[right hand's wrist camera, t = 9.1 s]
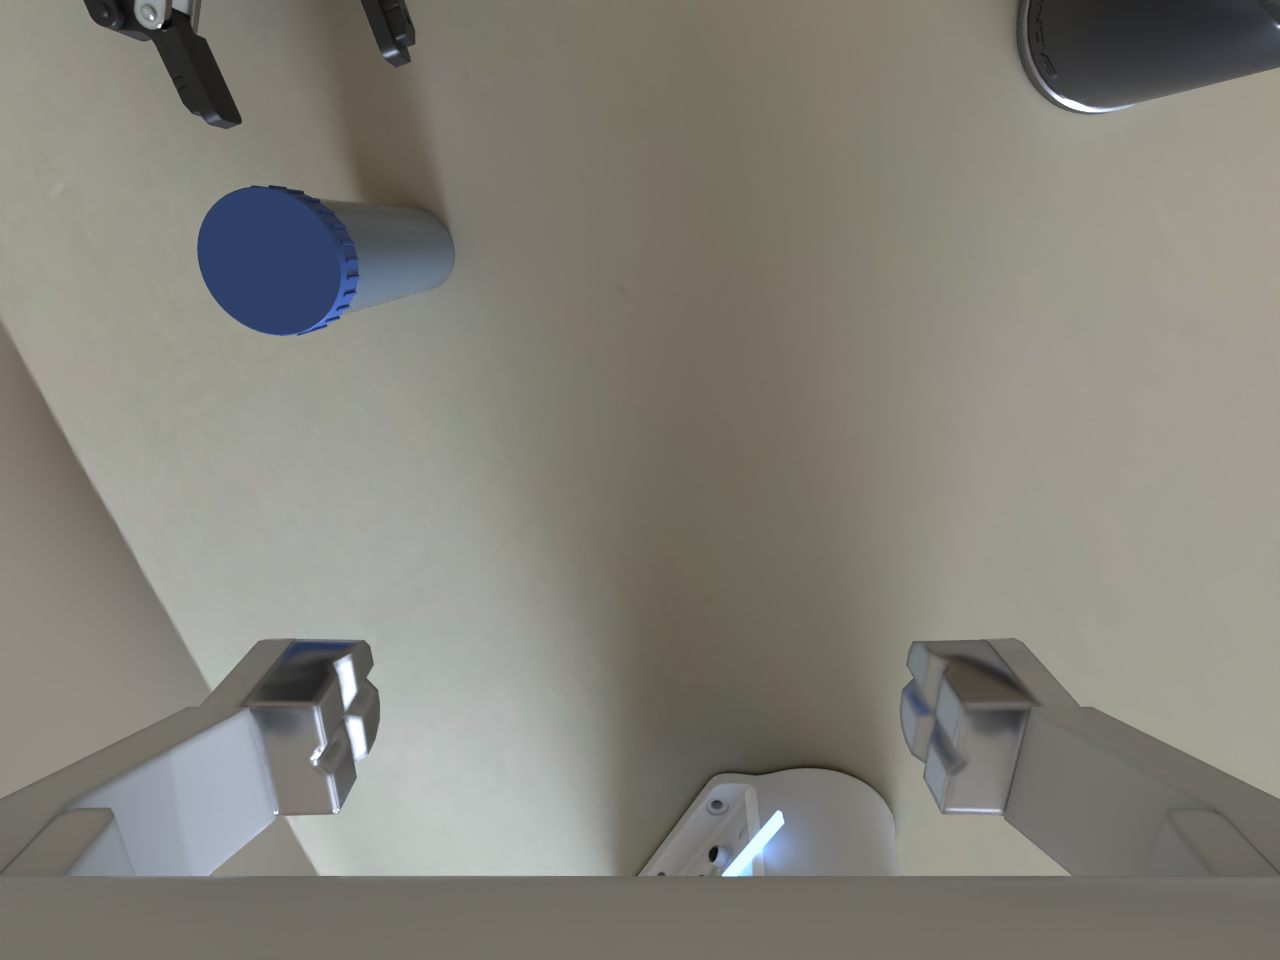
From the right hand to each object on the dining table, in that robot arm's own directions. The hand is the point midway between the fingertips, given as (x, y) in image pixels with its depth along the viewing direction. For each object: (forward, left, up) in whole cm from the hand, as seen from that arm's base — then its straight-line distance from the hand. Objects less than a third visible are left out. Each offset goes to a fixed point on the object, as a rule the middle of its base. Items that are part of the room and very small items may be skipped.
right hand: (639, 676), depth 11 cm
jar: (-4, +13, -33) cm, 35 cm away
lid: (-4, +13, -16) cm, 21 cm away
